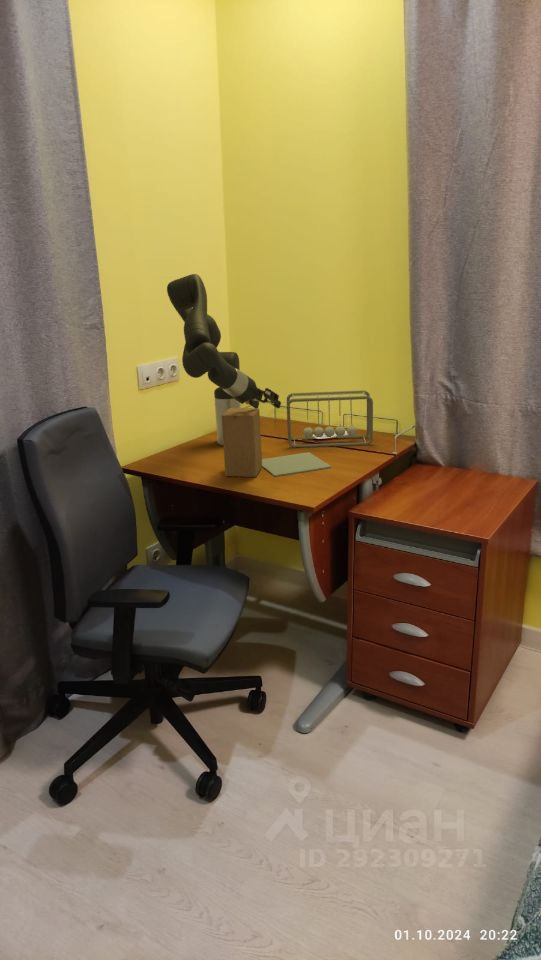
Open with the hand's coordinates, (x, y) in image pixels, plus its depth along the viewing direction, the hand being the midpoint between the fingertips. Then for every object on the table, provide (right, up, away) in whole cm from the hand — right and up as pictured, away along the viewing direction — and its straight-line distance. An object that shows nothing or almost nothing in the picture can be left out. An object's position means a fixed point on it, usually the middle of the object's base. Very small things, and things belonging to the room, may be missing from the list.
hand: (268, 405), depth 220 cm
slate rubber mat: (+8, -18, +13) cm, 23 cm away
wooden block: (-8, -21, +7) cm, 23 cm away
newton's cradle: (+22, -10, +36) cm, 43 cm away
